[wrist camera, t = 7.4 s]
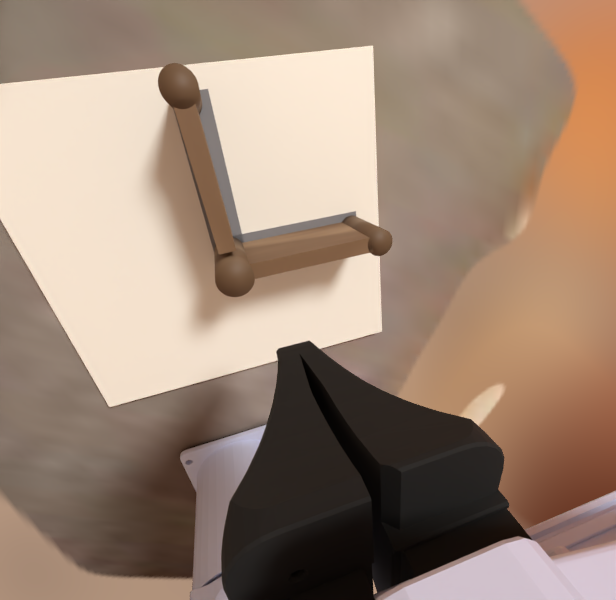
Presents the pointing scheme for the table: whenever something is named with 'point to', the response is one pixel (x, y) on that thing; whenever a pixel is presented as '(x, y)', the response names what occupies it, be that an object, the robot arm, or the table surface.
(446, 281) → the table surface
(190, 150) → the fence gate
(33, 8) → the table surface
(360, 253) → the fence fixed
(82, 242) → the card
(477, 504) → the robot arm
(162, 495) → the table surface
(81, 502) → the table surface
